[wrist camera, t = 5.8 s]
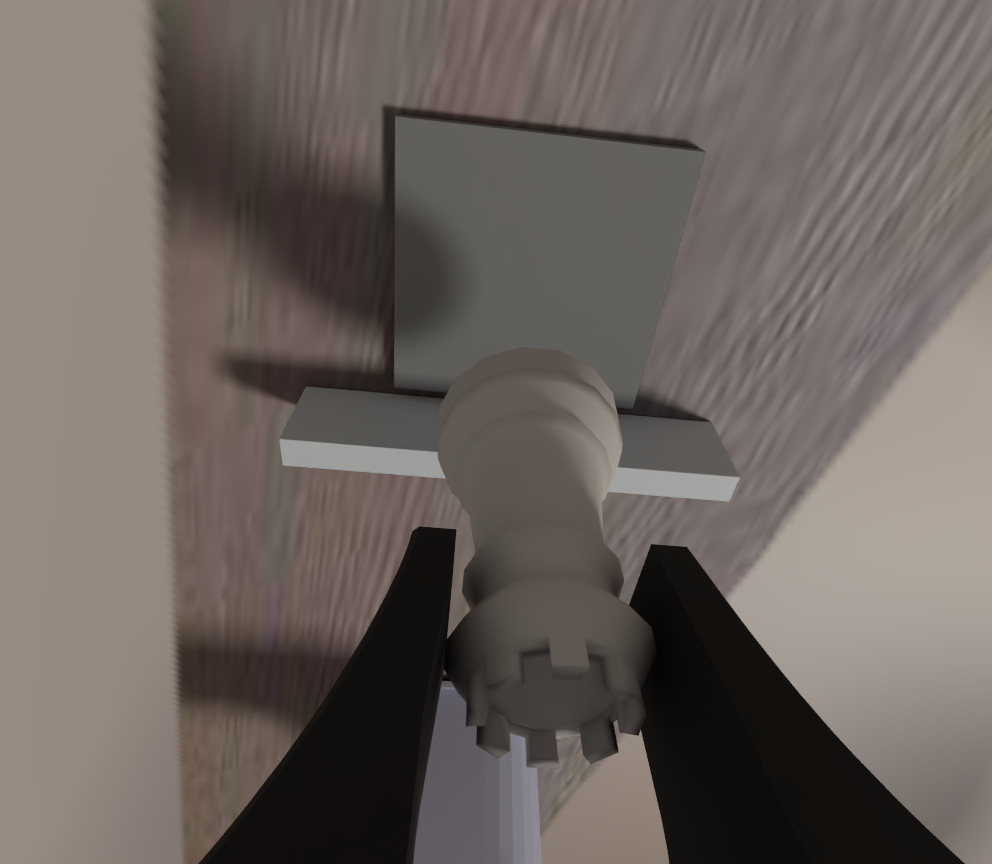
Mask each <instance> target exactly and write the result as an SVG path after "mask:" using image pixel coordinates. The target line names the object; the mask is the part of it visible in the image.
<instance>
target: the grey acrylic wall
mask: <svg viewBox="0 0 992 864" xmlns="http://www.w3.org/2000/svg"><path fill="white" fill-rule="evenodd" d="M443 400H444V398H433V397H422V396H410V395H399V394H388V393H377V392H365V391H354V390H343V389H332V388H320V387H309V386H306V387H305V389H304V391H303V393H302V395H301V397H300V399H299V401H298V403H297V405H296V407H295V409H294V411H293V413H292V415H291V417H290V419H289V421H288V423H287V425H286V427H285V429H284V431H283V433H282V435H281V437H280V439H279V440H280V448H281V455H282V462H283V465H286V466H298V467H311V468H323V469H335V470H347V471H360V472H372V473H384V474H397V475H409V476H421V477H434V478H445V475H444V473H443V471H442V468H441V466H440V463H439V460H438V443H439V440H438V438H437V436H438V420H439V407H440V405H441V403H442V401H443ZM617 415H618V419H619V427H620V432H621V436H622V441H623V446H622V452H621V456H620V460H619V464H618V467H617V471H616V475H615V479H614V481H613V483H612V484H611V485H610V486H609V488H608V491H607V492H619V493H631V494H643V495H656V496H668V497H680V498H693V499H705V500H717V501H730V499H731V496H732V494H733V492H734V490H735V487H736V485H737V483H738V481H739V478H740V477H739V475H738V473H737V471H736V469H735V467H734V465H733V463H732V461H731V459H730V457H729V455H728V453H727V451H726V449H725V447H724V445H723V444H722V442H721V440H720V438H719V436H718V434H717V432H716V430H715V428H714V426H713V424H712V422H703V421H692V420H681V419H670V418H658V417H647V416H636V415H624V414H617Z"/></svg>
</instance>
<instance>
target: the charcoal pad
mask: <svg viewBox="0 0 992 864" xmlns="http://www.w3.org/2000/svg"><path fill="white" fill-rule="evenodd" d="M705 153H706V152H705V151H703V150H702V149H697V148H688V147H679V146H671V145H662V144H653V143H645V142H636V141H627V140H619V139H610V138H601V137H593V136H584V135H575V134H567V133H558V132H549V131H541V130H532V129H523V128H515V127H506V126H497V125H489V124H480V123H471V122H463V121H454V120H445V119H437V118H428V117H419V116H411V115H402V114H397V115H396V116H395V269H394V388H402V389H413V390H425V391H436V392H447V393H448V391H449V389H450V387H451V386H452V384H453V382H454V380H455V379H456V378H457V377H458V376H460V375H461V374H462V373H464V372H465V371H466V370H468V369H469V368H470V367H472V366H473V365H474V364H476V363H477V362H478V361H480V360H481V359H482V358H484V357H486V356H490V355H494V354H497V353H501V352H505V351H508V350H512V349H516V348H519V347H528V348H538V349H549V350H560V351H562V352H564V353H566V354H568V355H570V356H572V357H573V358H575V359H577V360H579V361H581V362H583V363H585V364H587V365H589V366H591V367H592V368H593V369H594V370H595V371H596V373H597V374H598V375H599V376H600V378H601V379H602V380H603V381H604V382H605V384H606V385H607V386H608V387H609V389H610V390H611V391H612V392H613V396H614V401H615V406H616V408H626V409H633V407H634V403H635V400H636V396H637V393H638V389H639V386H640V382H641V379H642V375H643V371H644V368H645V364H646V361H647V357H648V354H649V350H650V347H651V343H652V340H653V336H654V333H655V329H656V326H657V322H658V319H659V315H660V311H661V308H662V304H663V301H664V297H665V294H666V290H667V287H668V283H669V280H670V276H671V273H672V269H673V266H674V262H675V259H676V255H677V251H678V248H679V244H680V241H681V237H682V234H683V230H684V227H685V223H686V220H687V216H688V213H689V209H690V206H691V202H692V199H693V195H694V192H695V188H696V184H697V181H698V177H699V174H700V170H701V167H702V163H703V160H704V156H705Z"/></svg>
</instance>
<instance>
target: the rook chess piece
mask: <svg viewBox="0 0 992 864" xmlns="http://www.w3.org/2000/svg"><path fill="white" fill-rule="evenodd" d="M437 438H438V440H439V443H438V460H439V463H440V466H441V468H442V471H443V473H444V475H445V478H446V480H447V482H448V485H449V487H450V489H451V492H452V494H453V495H454V496H456V497H457V498H458V499H459V500H460V502H461V504H462V507H463V509H464V510H466V511H467V512H468V513H469V515H470V522H471V528H472V534H473V541H474V547H475V555H474V557H473V558H472V560H471V561H470V562H469V564H468V565H467V567H466V568H465V569H464V577H463V587H462V593H463V595H464V597H465V599H466V602H467V604H468V606H469V608H470V610H471V611H470V612H469V613H468V614H466V615H465V617H464V618H463V619H462V621H461V622H460V623H459V624H458V626H457V627H456V628H455V630H454V631H453V632H452V634H451V635H450V636H449V638H448V639H447V640H446V645H445V656H444V667H443V668H444V670H445V672H446V673H447V675H448V677H449V679H450V681H451V682H452V684H453V686H454V688H455V690H456V691H457V693H458V694H459V695H460V696H461V697H462V698H463V700H464V701H465V702H466V703H467V704H466V727H468V726H477V735H476V745H477V746H478V747H480V748H481V749H483V750H484V751H486V752H487V753H489V754H490V755H492V756H494V757H495V758H497V759H499V758H500V757H502V756H503V755H505V754H506V753H508V752H509V751H510V733H511V734H514V735H517V736H521V737H524V738H525V749H526V767H528V768H548V769H559V765H558V753H557V742H556V739H561V738H567V737H573V736H579V735H581V742H582V750H583V755H584V756H585V757H586V759H587V760H588V761H589V762H590V763H594V762H596V761H599V760H601V759H604V758H606V757H608V756H611V755H613V754H616V753H618V746H617V741H616V735H615V730H614V724H613V722H614V721H616V720H617V721H618V726H619V731H620V733H626V734H632V735H639V732H640V730H641V728H642V726H643V723H644V721H645V718H646V711H645V707H644V703H643V698H642V694H641V690H642V688H643V687H644V685H645V683H646V682H647V680H648V678H649V675H650V672H651V670H652V667H653V665H654V662H655V660H656V657H657V655H658V653H657V649H656V644H655V640H654V636H653V632H652V627H651V626H650V625H649V624H648V623H647V622H645V621H644V620H643V619H642V618H641V617H640V616H639V615H638V614H637V613H636V612H635V611H634V610H633V609H632V608H631V607H630V606H629V605H628V604H627V603H625V602H623V601H622V600H620V599H619V596H620V593H621V589H622V586H623V583H624V578H623V574H622V570H621V566H620V562H619V558H618V557H617V556H616V555H615V554H614V553H613V552H612V551H611V550H610V549H609V548H608V547H607V546H606V545H605V544H604V542H603V525H602V502H603V500H604V499H605V498H606V495H607V491H608V488H609V486H610V485H611V484H612V483H613V481H614V479H615V475H616V471H617V467H618V464H619V460H620V456H621V452H622V446H623V441H622V436H621V432H620V427H619V419H618V415H617V410H616V406H615V401H614V396H613V392H612V391H611V390H610V389H609V387H608V386H607V385H606V384H605V382H604V381H603V380H602V379H601V378H600V376H599V375H598V374H597V373H596V371H595V370H594V369H593V368H592V367H591V366H589V365H587V364H585V363H583V362H581V361H579V360H577V359H575V358H573V357H572V356H570V355H568V354H566V353H564V352H562V351H560V350H549V349H538V348H528V347H519V348H516V349H512V350H508V351H505V352H501V353H497V354H494V355H490V356H486V357H484V358H482V359H481V360H480V361H478V362H477V363H476V364H474V365H473V366H472V367H470V368H469V369H468V370H466V371H465V372H464V373H462V374H461V375H460V376H458V377H457V378H456V379H455V380H454V382H453V384H452V386H451V387H450V389H449V391H448V393H447V394H446V396H445V398H444V400H443V401H442V403H441V405H440V407H439V420H438V436H437Z"/></svg>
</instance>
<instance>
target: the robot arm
mask: <svg viewBox="0 0 992 864" xmlns="http://www.w3.org/2000/svg"><path fill="white" fill-rule="evenodd" d="M455 540H456V529H444V528H431V527H418V528H417V529H415V530H413V531H412V534H411V538H410V541H409V544H408V547H407V550H406V552H405V555H404V558H403V560H402V562H401V565H400V567H399V569H398V571H397V574H396V576H395V578H394V580H393V582H392V584H391V586H390V588H389V590H388V593H387V595H386V597H385V598H384V600H383V602H382V604H381V606H380V608H379V610H378V611H377V613H376V615H375V617H374V619H373V621H372V622H371V624H370V626H369V628H368V630H367V632H366V634H365V635H364V637H363V639H362V640H361V642H360V644H359V646H358V647H357V649H356V650H355V652H354V654H353V655H352V657H351V658H350V660H349V662H348V663H347V665H346V667H345V668H344V670H343V671H342V673H341V675H340V676H339V678H338V679H337V681H336V683H335V684H334V686H333V687H332V689H331V691H330V692H329V694H328V695H327V697H326V698H325V700H324V701H323V703H322V704H321V706H320V707H319V709H318V710H317V712H316V713H315V714H314V716H313V717H312V719H311V720H310V722H309V723H308V725H307V726H306V727H305V729H304V730H303V732H302V733H301V734H300V736H299V737H298V739H297V740H296V741H295V743H294V744H293V746H292V747H291V748H290V750H289V751H288V752H287V754H286V755H285V757H284V758H283V759H282V761H281V762H280V763H279V765H278V766H277V767H276V768H275V770H274V771H273V772H272V774H271V775H270V776H269V778H268V779H267V780H266V781H265V783H264V784H263V785H262V787H261V788H260V789H259V790H258V792H257V793H256V794H255V796H254V797H253V798H252V800H251V801H250V802H249V803H248V805H247V806H246V807H245V809H244V810H243V811H242V812H241V814H240V815H239V816H238V817H237V819H236V820H235V821H234V822H233V823H232V825H231V826H230V827H229V828H228V830H227V831H226V832H225V833H224V835H223V836H222V837H221V838H220V839H219V841H218V842H217V843H216V844H215V845H214V846H213V848H212V849H211V850H210V851H209V852H208V853H207V855H206V856H205V857H204V858H203V859H202V860H201V862H200V863H199V864H541V845H540V825H539V805H538V785H537V768H528V767H526V749H525V738H524V737H521V736H517V735H514V734H511V733H510V751H509V752H508V753H506V754H505V755H503V756H502V757H500V758H499V759H497V758H495V757H494V756H492V755H490V754H489V753H487V752H486V751H484V750H483V749H481V748H480V747H478V746H477V745H476V735H477V726H468V727H466V704H467V703H466V702H465V701H464V700H463V698H462V697H461V696H460V695H459V694H458V693H457V691H456V690H455V688H454V686H453V684H452V682H451V681H442V678H443V672H444V668H443V667H444V656H445V645H446V640H447V632H448V621H449V610H450V599H451V588H452V576H453V565H454V553H455ZM629 606H630V607H631V608H632V609H633V610H634V611H635V612H636V613H637V614H638V615H639V616H640V617H641V618H642V619H643V620H644V621H645V622H647V623H648V624H649V625H650V626H651V627H652V632H653V636H654V640H655V644H656V649H657V653H658V655H657V657H656V660H655V662H654V665H653V667H652V670H651V672H650V675H649V678H648V680H647V682H646V683H645V685H644V687H643V688H642V690H641V694H642V698H643V703H644V707H645V711H646V718H645V721H644V723H643V726H642V728H641V732H642V736H643V740H644V745H645V749H646V753H647V758H648V762H649V766H650V771H651V775H652V779H653V783H654V788H655V792H656V797H657V801H658V805H659V810H660V814H661V819H662V823H663V829H664V834H665V839H666V844H667V850H668V856H669V864H965V863H963V862H962V861H961V860H960V859H959V858H958V857H957V856H956V855H955V854H954V853H953V852H952V851H950V850H949V849H948V848H947V847H946V846H945V845H944V844H943V843H942V842H941V841H940V840H939V839H937V838H936V837H935V836H934V835H933V834H932V833H931V832H930V831H929V830H928V829H927V828H926V827H925V826H924V825H923V824H922V823H921V822H920V821H919V820H917V819H916V818H915V817H914V816H913V815H912V814H911V813H910V812H909V811H908V810H907V809H906V808H905V807H904V806H903V805H902V804H901V803H900V802H899V801H898V800H897V799H896V798H895V797H894V796H893V795H892V794H891V793H890V792H889V791H888V790H887V789H886V788H885V786H884V785H883V784H882V783H880V781H879V780H878V779H877V778H876V777H875V776H874V775H873V774H872V773H871V772H870V771H869V770H868V769H867V768H866V767H865V766H864V765H863V764H862V763H861V762H860V761H859V760H858V759H857V758H856V757H855V756H854V755H853V754H852V752H851V751H850V750H849V749H848V748H847V747H846V746H845V745H844V744H843V743H842V741H841V740H840V739H839V738H838V737H837V736H836V735H835V734H834V733H833V732H832V731H831V729H830V728H829V727H828V726H827V725H826V724H825V723H824V722H823V720H822V719H821V718H820V717H819V716H818V715H817V713H816V712H815V711H814V710H813V709H812V707H811V706H810V705H809V704H808V703H807V702H806V701H805V699H804V698H803V697H802V696H801V695H800V694H799V692H798V691H797V690H796V689H795V688H794V686H793V685H792V684H791V683H790V681H789V680H788V679H787V678H786V677H785V675H784V674H783V673H782V672H781V670H780V669H779V668H778V667H777V665H776V664H775V663H774V662H773V661H772V659H771V658H770V657H769V655H768V654H767V653H766V652H765V650H764V649H763V648H762V647H761V645H760V644H759V643H758V641H757V640H756V639H755V638H754V636H753V635H752V634H751V632H750V631H749V630H748V629H747V627H746V626H745V625H744V624H743V622H742V621H741V619H740V618H739V617H738V615H737V614H736V613H735V611H734V610H733V609H732V607H731V606H730V605H729V603H728V602H727V601H726V599H725V598H724V597H723V595H722V594H721V593H720V591H719V590H718V588H717V587H716V586H715V584H714V583H713V582H712V580H711V579H710V578H709V576H708V575H707V573H706V572H705V571H704V569H703V568H702V567H701V565H700V564H699V563H698V561H697V560H696V559H695V557H694V556H693V555H692V553H691V552H690V551H689V549H688V548H687V547H680V546H667V545H654V544H651V546H650V549H649V552H648V555H647V557H646V560H645V563H644V566H643V568H642V571H641V574H640V577H639V579H638V582H637V585H636V588H635V590H634V593H633V596H632V599H631V601H630V604H629Z"/></svg>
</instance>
